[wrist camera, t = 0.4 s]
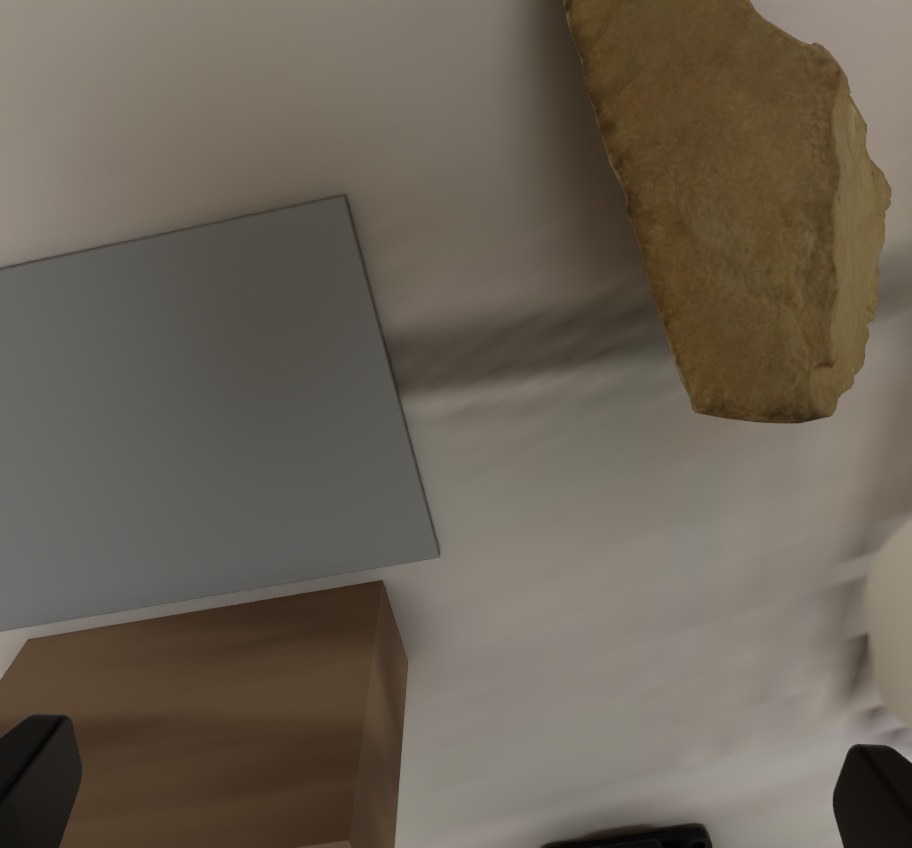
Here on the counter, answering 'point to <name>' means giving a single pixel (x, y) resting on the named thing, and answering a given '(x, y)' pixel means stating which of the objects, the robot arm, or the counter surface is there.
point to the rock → (740, 198)
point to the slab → (229, 723)
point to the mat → (199, 419)
